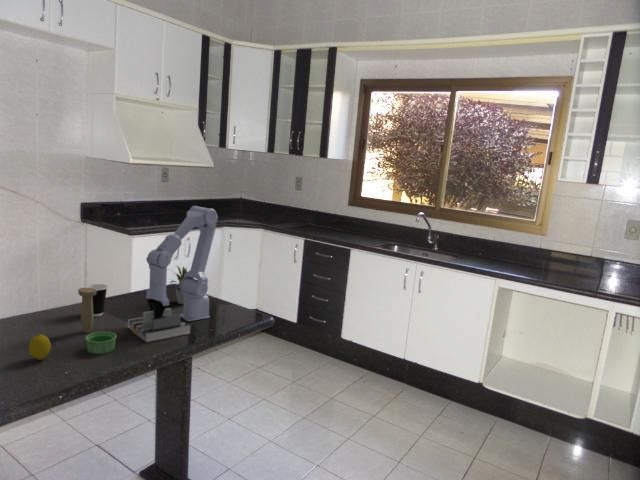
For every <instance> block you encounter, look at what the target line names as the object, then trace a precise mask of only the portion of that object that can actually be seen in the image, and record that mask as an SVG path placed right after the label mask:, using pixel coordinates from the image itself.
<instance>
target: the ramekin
mask: <svg viewBox="0 0 640 480" xmlns="http://www.w3.org/2000/svg"><path fill="white" fill-rule="evenodd" d="M84 338H85V339H84V340H85V342H86V351H87V352H88V353H90V354H92V353H93V354H92V355H104V354H108V353H110V352H112V351H114V349H115V348H116V347H115V346H116V339H117V334H116V333H114V332H111V331H96V332H90V333H88V334H87V335H86V336H85V337H84Z"/></svg>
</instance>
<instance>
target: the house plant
mask: <svg viewBox="0 0 640 480" xmlns="http://www.w3.org/2000/svg"><path fill="white" fill-rule="evenodd" d="M176 268H177V270H178V272H179V274H178V273H176V272H175V271H174V270H173V269H170V268H168V270H170V271H171V272H172V273H173V274H175V276H176V277H177V278H176V279H177V281H176V280H173V279H171V281H170V282H169V284H171V283H177V286H176V287H175V295H176V302H177V304H180V305H184V295H183V292H182V291H181V289H180V283H181V281H182V280H183V278H184V275H185V273H187V272H188V270H187V269H188V268H187V267H185V266H184V265H183V266H182V269H181V268H180V267H179V266H178V265H176Z"/></svg>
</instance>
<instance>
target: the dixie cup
mask: <svg viewBox="0 0 640 480" xmlns="http://www.w3.org/2000/svg"><path fill="white" fill-rule="evenodd" d="M84 288H93V289H96V290H97V294H96V295H94V296H93V314H94V317H101V316H103V315H102V314H104V311H105V305H106V296H107V289H108V285H106V284H104V283H103V284H102V283H93V284H92V283H91V284H88V285H85V286H84Z"/></svg>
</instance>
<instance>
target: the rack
mask: <svg viewBox="0 0 640 480" xmlns="http://www.w3.org/2000/svg"><path fill="white" fill-rule="evenodd" d="M181 318H182V317H181V315H180V313H176V314H175V313H174V314H172V315H169V316H163V317H157V318H152V323H151V324H146V325H143V316H142V317H136V318H130V319H127V328H128V329H129V330H131V332H132V333H133V334H134V335H136V336H137V337H139V338H141V340H143V341H144V342H145V343H150V342H151V343H152V342H156V341H159V340H165V339H169V338H170V339H171V338H175V337H179V336H180V337H181V336H184V335H190V334H191V325H189V324H188V325H187V324H186V322H185V321H181Z"/></svg>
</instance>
